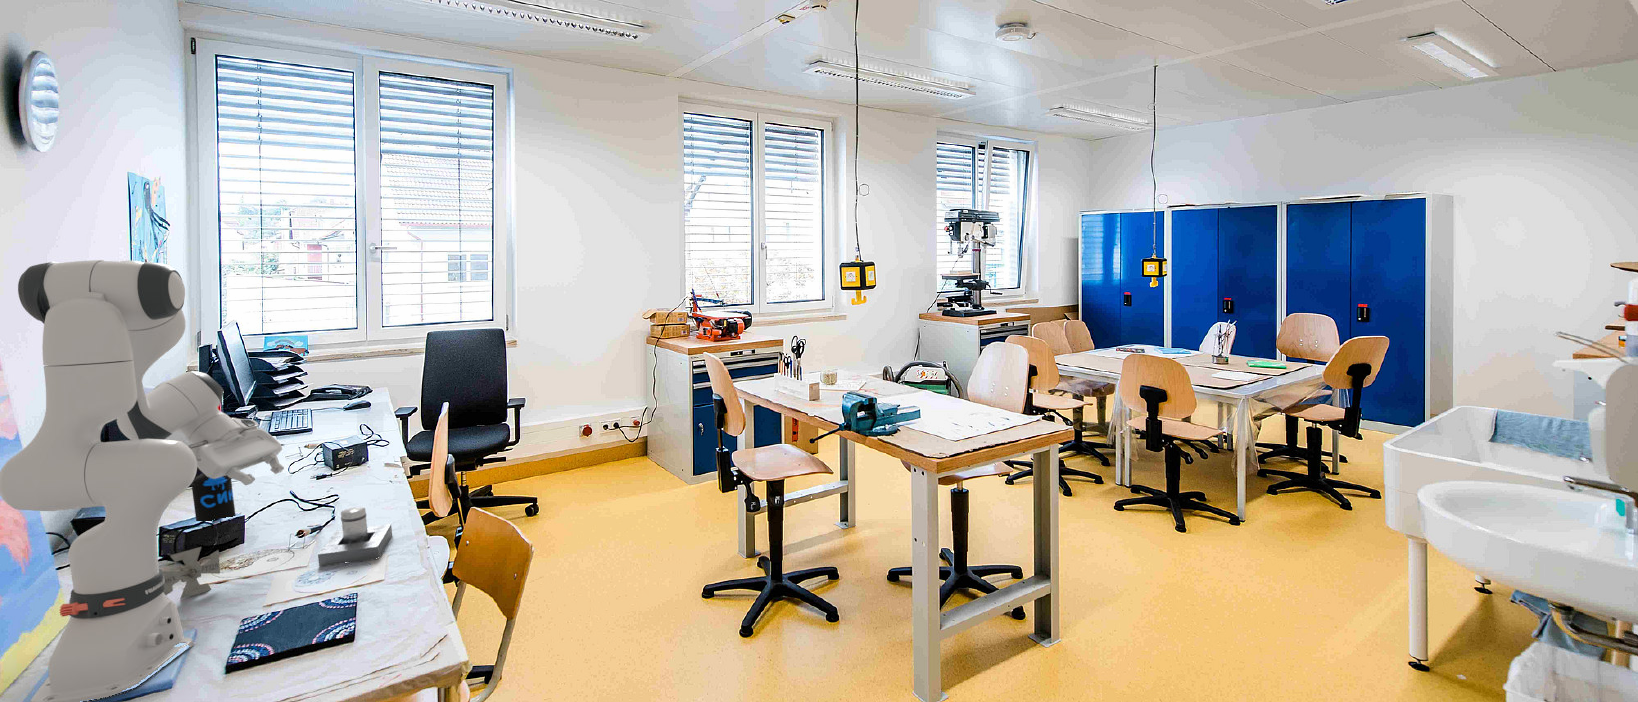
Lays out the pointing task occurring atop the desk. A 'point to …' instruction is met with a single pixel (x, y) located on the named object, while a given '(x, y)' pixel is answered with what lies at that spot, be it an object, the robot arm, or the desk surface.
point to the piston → (354, 525)
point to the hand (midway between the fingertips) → (266, 476)
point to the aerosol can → (212, 498)
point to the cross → (191, 572)
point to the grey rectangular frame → (355, 547)
